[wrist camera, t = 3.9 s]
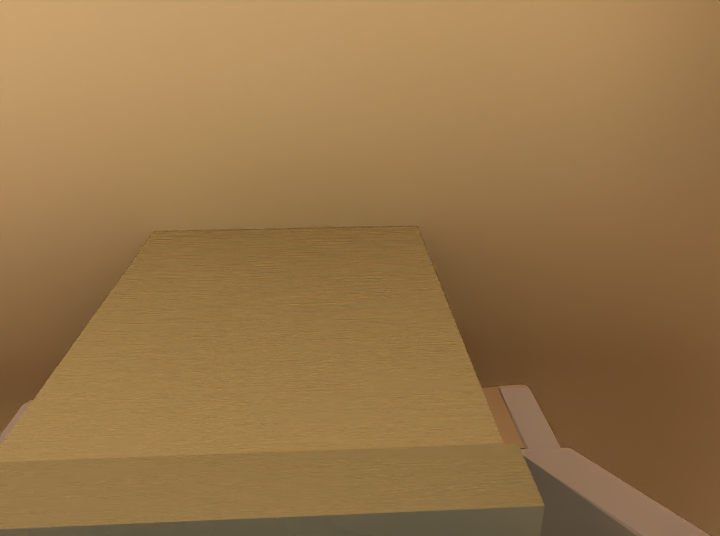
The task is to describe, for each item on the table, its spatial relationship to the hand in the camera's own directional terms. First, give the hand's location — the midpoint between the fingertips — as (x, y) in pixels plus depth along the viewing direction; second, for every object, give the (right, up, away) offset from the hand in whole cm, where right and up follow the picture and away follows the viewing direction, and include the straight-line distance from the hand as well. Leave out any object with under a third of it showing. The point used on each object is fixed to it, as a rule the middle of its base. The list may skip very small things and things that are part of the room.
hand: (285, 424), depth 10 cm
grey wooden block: (0, +1, +2) cm, 3 cm away
